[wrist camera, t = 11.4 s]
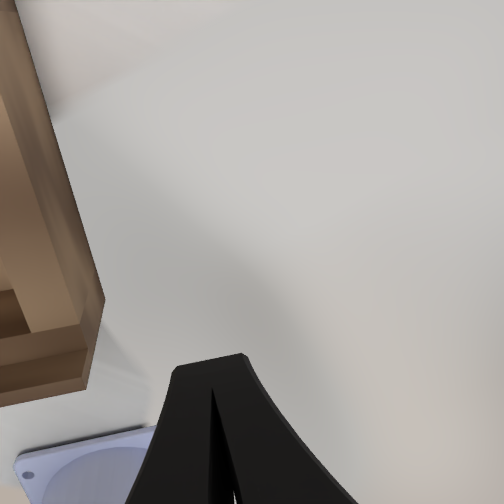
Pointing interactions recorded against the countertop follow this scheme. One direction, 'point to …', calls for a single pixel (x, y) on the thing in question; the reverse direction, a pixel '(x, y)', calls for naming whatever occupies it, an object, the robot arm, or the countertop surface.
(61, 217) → the walnut box
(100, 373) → the countertop surface
